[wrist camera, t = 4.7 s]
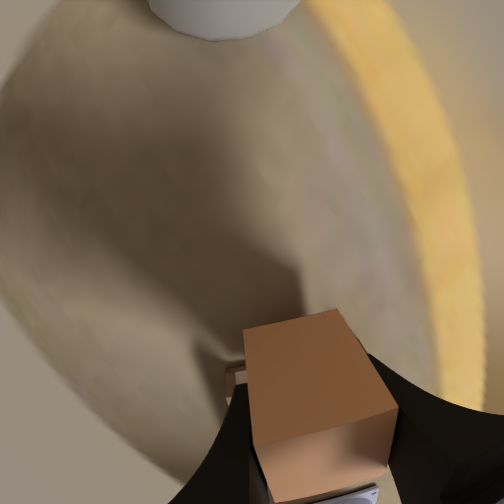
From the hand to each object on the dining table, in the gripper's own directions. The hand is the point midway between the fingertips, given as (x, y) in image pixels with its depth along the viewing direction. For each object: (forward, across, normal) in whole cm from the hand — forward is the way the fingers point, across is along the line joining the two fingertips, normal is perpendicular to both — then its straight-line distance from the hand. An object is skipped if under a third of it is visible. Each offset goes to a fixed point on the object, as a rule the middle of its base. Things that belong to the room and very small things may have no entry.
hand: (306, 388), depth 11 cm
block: (+2, 0, 0) cm, 2 cm away
